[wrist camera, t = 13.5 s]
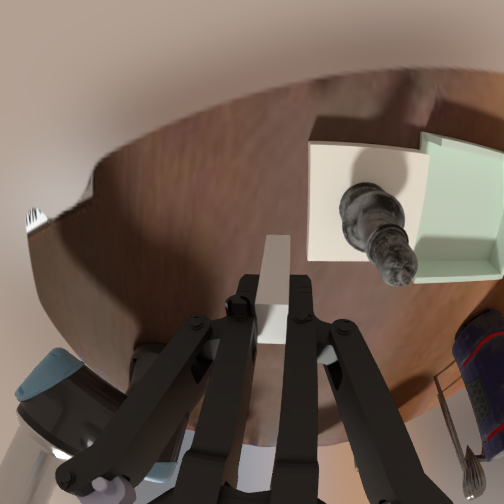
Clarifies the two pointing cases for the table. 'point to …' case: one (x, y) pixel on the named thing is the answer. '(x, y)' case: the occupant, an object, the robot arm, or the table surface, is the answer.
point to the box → (461, 212)
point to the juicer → (470, 463)
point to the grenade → (484, 376)
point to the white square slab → (353, 172)
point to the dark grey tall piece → (378, 231)
